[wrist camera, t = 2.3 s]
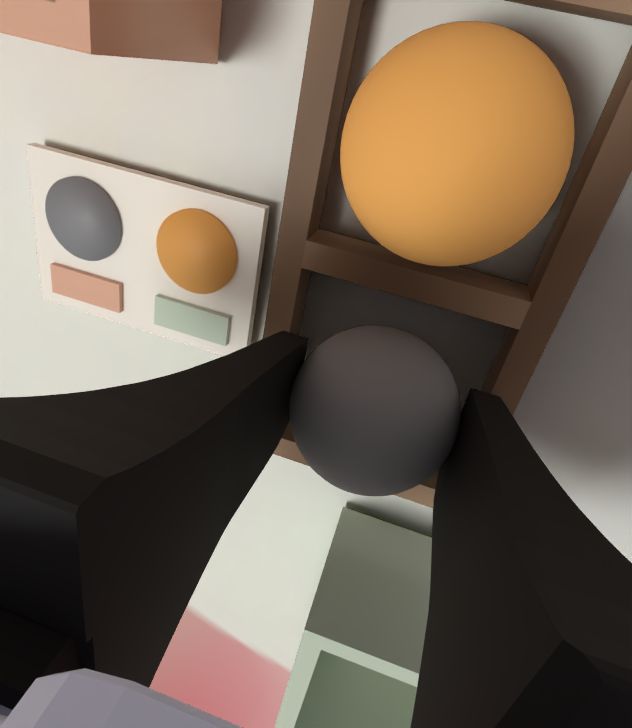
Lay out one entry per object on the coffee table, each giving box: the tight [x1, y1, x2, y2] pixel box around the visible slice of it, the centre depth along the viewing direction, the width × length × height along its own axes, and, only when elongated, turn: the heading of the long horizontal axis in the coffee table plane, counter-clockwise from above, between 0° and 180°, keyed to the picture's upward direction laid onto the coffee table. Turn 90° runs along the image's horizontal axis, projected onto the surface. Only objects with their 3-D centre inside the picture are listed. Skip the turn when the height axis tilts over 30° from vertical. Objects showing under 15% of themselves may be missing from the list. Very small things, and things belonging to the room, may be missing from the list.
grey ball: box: [289, 325, 461, 496], centre depth 11 cm, size 4×4×4 cm
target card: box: [26, 143, 270, 356], centre depth 13 cm, size 6×4×1 cm, turn 79°
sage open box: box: [275, 507, 432, 728], centre depth 14 cm, size 6×6×4 cm
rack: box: [263, 0, 632, 508], centre depth 11 cm, size 6×11×1 cm, turn 169°
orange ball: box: [340, 21, 575, 266], centre depth 8 cm, size 4×4×4 cm
